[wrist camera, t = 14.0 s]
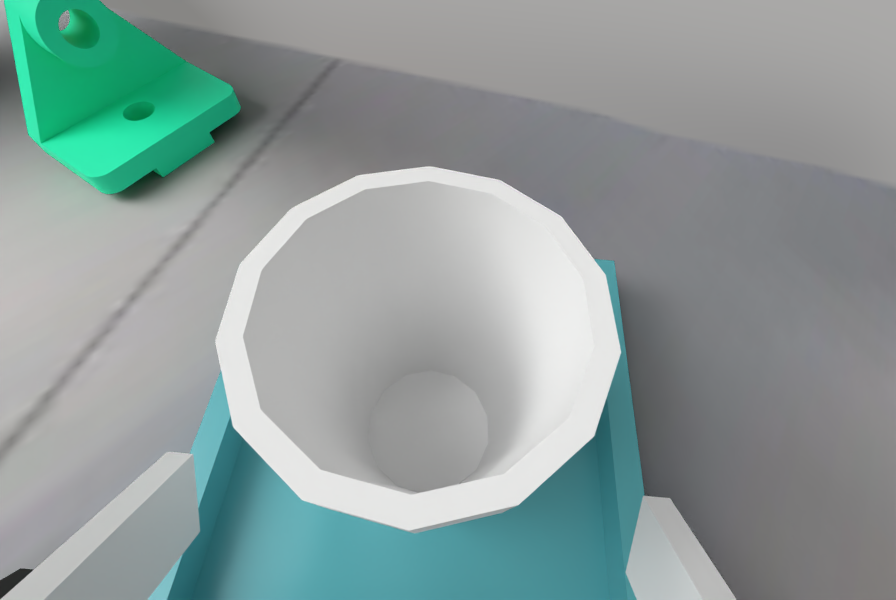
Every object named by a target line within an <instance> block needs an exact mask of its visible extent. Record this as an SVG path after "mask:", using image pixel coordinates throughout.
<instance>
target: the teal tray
mask: <svg viewBox="0 0 896 600" xmlns="http://www.w3.org/2000/svg"><path fill="white" fill-rule="evenodd" d="M594 260H595V261H596V263H597V264H598V265H599V267H600V268H601V269H602V271H603V272H604V273H605V275H606V279H607V284H608V289H609V294H610V299H611V304H612V309H613V314H614V319H615V324H616V329H617V334H618V339H619V344H620V349H621V354H620V357H619V360H618V364H617V367H616V370H615V373H614V376H613V379H612V382H611V385H610V388H609V392H608V395H607V398H606V401H605V404H604V407H603V410H602V413H601V416H600V420H599V423H598V426H597V429H596V432H595V435H594V437H593V438H592V439H591V440H590V441H588V442H587V443H586V444H585V445H584V446H583V447H582V448H581V449H580V450H579V451H577V452H576V453H575V454H574V455H573V456H572V457H571V458H570V459H569V460H568V461H566V462H565V463H564V464H563V465H562V466H561V467H560V468H559V469H558V470H557V471H555V472H554V473H553V474H552V475H551V476H550V477H549V478H548V479H547V480H546V481H544V482H543V483H542V484H541V485H540V486H539V487H538V488H537V489H536V490H535V491H533V492H532V493H531V494H530V495H529V496H528V497H527V498H526V499H525V500H524V501H522V502H521V503H520V504H519V505H518V506H515V507H513V508H511V509H509V510H507V511H505V512H503V513H499V514H495V515H491V516H487V517H483V518H478V519H474V520H470V521H466V522H461V523H457V524H453V525H449V526H444V527H440V528H436V529H432V530H427V531H423V532H419V533H415V534H414V533H411V532H407V531H404V530H400V529H397V528H393V527H390V526H386V525H383V524H379V523H376V522H372V521H369V520H365V519H362V518H358V517H355V516H351V515H348V514H344V513H341V512H337V511H334V510H330V509H327V508H324V507H321V506H318V505H315V504H312V503H309V502H306V501H303V500H301V499H300V498H299V497H298V495H297V494H296V493H295V492H294V491H293V490H292V489H291V488H290V487H289V486H288V485H287V484H286V483H285V482H284V481H283V480H282V479H281V478H280V476H279V475H278V474H277V473H276V472H275V471H274V470H273V469H272V468H271V467H270V466H269V465H268V464H267V463H266V462H265V461H264V460H263V459H262V457H261V456H260V455H259V454H258V453H257V452H256V451H255V450H254V449H253V448H252V447H251V446H250V445H249V444H248V443H247V442H246V441H245V439H244V438H243V437H242V436H241V435H240V434H239V433H238V432H237V431H236V430H235V429H234V428H233V425H232V420H231V415H230V410H229V405H228V401H227V396H226V391H225V386H224V381H223V377H222V372H220V374H219V377H218V379H217V382H216V385H215V387H214V390H213V393H212V395H211V398H210V401H209V403H208V406H207V409H206V411H205V414H204V417H203V419H202V422H201V425H200V427H199V430H198V433H197V435H196V438H195V441H194V443H193V446H192V449H191V451H190V454H193V457H194V468H195V479H196V490H197V501H198V512H199V523H200V532H199V534H198V535H197V536H196V537H195V539H194V540H193V541H192V543H191V544H190V545H189V546H188V548H187V549H186V550H185V552H184V553H183V554H182V556H181V557H180V558H179V559H178V561H177V562H176V563H175V565H174V566H173V567H172V568H171V570H170V571H169V572H168V574H167V575H166V576H165V577H164V579H163V580H162V581H161V583H160V584H159V585H158V587H157V588H156V589H155V590H154V592H153V593H152V594H151V596H150V597H149V598H148V599H147V600H637V599H636V597H635V594H634V592H633V589H632V587H631V584H630V582H629V580H628V577H627V575H626V568H627V564H628V559H629V555H630V551H631V546H632V542H633V537H634V533H635V529H636V524H637V520H638V516H639V511H640V507H641V503H642V498H643V496H645V495H644V487H643V479H642V471H641V464H640V456H639V448H638V441H637V433H636V425H635V417H634V410H633V402H632V394H631V387H630V379H629V371H628V364H627V356H626V348H625V340H624V333H623V325H622V317H621V310H620V302H619V294H618V286H617V279H616V271H615V263H614V261H610V260H599V259H594Z"/></svg>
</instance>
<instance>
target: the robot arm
mask: <svg viewBox="0 0 896 600" xmlns="http://www.w3.org/2000/svg"><path fill="white" fill-rule="evenodd" d="M199 532H200V523H199V512H198V501H197V490H196V479H195V468H194V457H193V454H188V453H178V452H167V453H165V454H164V455H163V456H162V457H161V458H160V459H159V460H158V461H156V462H155V463H154V464H153V465H152V466H151V467H150V468H148V469H147V470H146V471H145V472H144V473H143V474H142V475H141V476H139V477H138V478H137V479H136V480H135V481H134V482H133V483H131V484H130V485H129V486H128V487H127V488H126V489H125V490H124V491H122V492H121V493H120V494H119V495H118V496H117V497H116V498H114V499H113V500H112V501H111V502H110V503H109V504H108V505H107V506H105V507H104V508H103V509H102V510H101V511H100V512H99V513H98V514H96V515H95V516H94V517H93V518H92V519H91V520H90V521H88V522H87V523H86V524H85V525H84V526H83V527H82V528H81V529H79V530H78V531H77V532H76V533H75V534H74V535H73V536H71V537H70V538H69V539H68V540H67V541H66V542H65V543H64V544H62V545H61V546H60V547H59V548H58V549H57V550H56V551H55V552H53V553H52V554H51V555H50V556H49V557H48V558H47V559H45V560H44V561H43V562H42V563H41V564H40V565H39V566H38V567H36V568H35V569H34V570H32V569H19V570H17V571H15V572H14V573H12V574H10V575H9V576H7V577H5V578H4V579H2V580H0V600H147V599H148V598H149V597H150V596H151V594H152V593H153V592H154V590H155V589H156V588H157V587H158V585H159V584H160V583H161V581H162V580H163V579H164V577H165V576H166V575H167V574H168V572H169V571H170V570H171V568H172V567H173V566H174V565H175V563H176V562H177V561H178V559H179V558H180V557H181V556H182V554H183V553H184V552H185V550H186V549H187V548H188V546H189V545H190V544H191V543H192V541H193V540H194V539H195V537H196V536H197V535H198V534H199ZM626 575H627V577H628V580H629V582H630V584H631V587H632V589H633V592H634V594H635V597H636V599H637V600H737V599H736V598H735V596H734V595H733V593H732V592H731V590H730V589H729V587H728V586H727V584H726V583H725V581H724V580H723V578H722V577H721V575H720V574H719V572H718V571H717V569H716V568H715V566H714V564H713V563H712V561H711V560H710V558H709V557H708V555H707V554H706V552H705V551H704V549H703V548H702V546H701V545H700V543H699V542H698V540H697V539H696V537H695V536H694V534H693V532H692V531H691V529H690V528H689V526H688V525H687V523H686V522H685V520H684V519H683V517H682V516H681V514H680V513H679V511H678V510H677V508H676V507H675V505H674V504H673V502H672V501H671V499H670V498H663V497H652V496H643V498H642V503H641V507H640V511H639V516H638V520H637V524H636V529H635V533H634V537H633V542H632V546H631V551H630V555H629V559H628V564H627V568H626Z"/></svg>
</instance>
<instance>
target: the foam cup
mask: <svg viewBox="0 0 896 600" xmlns="http://www.w3.org/2000/svg"><path fill="white" fill-rule="evenodd" d="M215 343H216V348H217V353H218V357H219V362H220V367H221V372H222V377H223V381H224V386H225V391H226V396H227V401H228V405H229V410H230V415H231V420H232V425H233V428H234V429H235V430H236V431H237V432H238V433H239V434H240V435H241V436H242V437H243V438H244V439H245V441H246V442H247V443H248V444H249V445H250V446H251V447H252V448H253V449H254V450H255V451H256V452H257V453H258V454H259V455H260V456H261V457H262V459H263V460H264V461H265V462H266V463H267V464H268V465H269V466H270V467H271V468H272V469H273V470H274V471H275V472H276V473H277V474H278V475H279V476H280V478H281V479H282V480H283V481H284V482H285V483H286V484H287V485H288V486H289V487H290V488H291V489H292V490H293V491H294V492H295V493H296V494H297V495H298V497H299V498H300V499H301V500H303V501H306V502H309V503H312V504H315V505H318V506H321V507H324V508H327V509H330V510H334V511H337V512H341V513H344V514H348V515H351V516H355V517H358V518H362V519H365V520H369V521H372V522H376V523H379V524H383V525H386V526H390V527H393V528H397V529H400V530H404V531H407V532H411V533H414V534H415V533H419V532H423V531H427V530H432V529H436V528H440V527H444V526H449V525H453V524H457V523H461V522H466V521H470V520H474V519H478V518H483V517H487V516H491V515H495V514H499V513H503V512H505V511H507V510H509V509H511V508H513V507H515V506H518V505H519V504H520V503H521V502H522V501H524V500H525V499H526V498H527V497H528V496H529V495H530V494H531V493H532V492H533V491H535V490H536V489H537V488H538V487H539V486H540V485H541V484H542V483H543V482H544V481H546V480H547V479H548V478H549V477H550V476H551V475H552V474H553V473H554V472H555V471H557V470H558V469H559V468H560V467H561V466H562V465H563V464H564V463H565V462H566V461H568V460H569V459H570V458H571V457H572V456H573V455H574V454H575V453H576V452H577V451H579V450H580V449H581V448H582V447H583V446H584V445H585V444H586V443H587V442H588V441H590V440H591V439H592V438H593V437H594V435H595V432H596V429H597V426H598V423H599V420H600V416H601V413H602V410H603V407H604V404H605V401H606V398H607V395H608V392H609V388H610V385H611V382H612V379H613V376H614V373H615V370H616V367H617V364H618V360H619V357H620V354H621V349H620V344H619V339H618V334H617V329H616V324H615V319H614V314H613V309H612V304H611V299H610V294H609V289H608V284H607V279H606V275H605V273H604V272H603V271H602V269H601V268H600V267H599V265H598V264H597V263H596V261H595V260H594V259H593V258H592V256H591V255H590V254H589V252H588V251H587V250H586V248H585V247H584V246H583V244H582V243H581V242H580V240H579V239H578V238H577V236H576V235H575V234H574V232H573V231H572V230H571V229H570V227H569V226H568V225H567V223H566V222H565V221H564V219H563V218H562V217H561V216H560V215H558V214H556V213H555V212H553V211H551V210H550V209H548V208H546V207H545V206H543V205H541V204H540V203H538V202H536V201H534V200H533V199H531V198H529V197H528V196H526V195H524V194H523V193H521V192H519V191H518V190H516V189H514V188H513V187H511V186H509V185H507V184H506V183H504V182H502V181H501V180H498V179H493V178H488V177H482V176H477V175H472V174H467V173H462V172H457V171H452V170H447V169H442V168H437V167H432V166H427V167H419V168H411V169H403V170H395V171H387V172H380V173H372V174H364V175H357V176H355V177H353V178H351V179H349V180H347V181H345V182H343V183H341V184H339V185H337V186H335V187H333V188H331V189H329V190H327V191H325V192H323V193H321V194H319V195H317V196H315V197H313V198H311V199H309V200H307V201H305V202H303V203H301V204H299V205H296V206H294V207H292V208H291V209H290V210H289V211H288V212H287V213H286V214H285V216H284V217H283V218H282V219H281V220H280V221H279V222H278V223H277V224H276V225H275V226H274V227H273V229H272V230H271V231H270V232H269V233H268V234H267V235H266V236H265V237H264V238H263V239H262V240H261V242H260V243H259V244H258V245H257V246H256V247H255V248H254V249H253V250H252V251H251V252H250V253H249V255H248V256H247V257H246V258H245V259H244V260H243V261H242V262H241V263H240V265H239V268H238V271H237V274H236V277H235V280H234V283H233V286H232V290H231V293H230V296H229V299H228V302H227V305H226V308H225V312H224V315H223V318H222V321H221V324H220V327H219V330H218V334H217V337H216V340H215Z"/></svg>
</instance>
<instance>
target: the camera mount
mask: <svg viewBox="0 0 896 600" xmlns="http://www.w3.org/2000/svg"><path fill="white" fill-rule="evenodd" d="M4 4H5V9H6V15H7V20H8V26H9V31H10V37H11V42H12V48H13V54H14V59H15V65H16V70H17V76H18V81H19V87H20V92H21V98H22V103H23V109H24V114H25V120H26V125H27V131H28V135H29V136H30V137H31V138H32V139H33V140H34V141H35V142H36V143H37V144H38V145H39V146H40V147H41V148H42V149H43V150H44V151H45V152H46V153H47V154H49V155H50V156H52V157H53V158H54V159H56V160H57V161H59V162H60V163H61V164H63V165H64V166H66V167H67V168H68V169H70V170H71V171H73V172H74V173H75V174H77V175H78V176H79V177H81V178H82V179H84V180H85V181H86V182H88V183H89V184H91V185H92V186H93V187H95V188H96V189H98V190H99V191H100V192H102V193H105V194H114V193H118V192H120V191H122V190H124V189H126V188H127V187H129V186H130V185H132V184H133V183H135V182H136V181H138V180H139V179H141V178H142V177H144V176H145V175H147V174H148V173H150V172H151V171H154V172H156V173H157V174H159V175H160V176H162V177H165V176H166V175H168V174H169V173H171V172H172V171H174V170H175V169H176V168H178V167H179V166H181V165H182V164H184V163H185V162H187V161H188V160H190V159H191V158H192V157H194V156H195V155H197V154H198V153H200V152H201V151H203V150H204V149H206V148H207V147H208V146H210V145H211V144H213V143H214V140H213V138H212V136H211V134H210V132H211V131H212V130H214V129H215V128H217V127H218V126H220V125H221V124H223V123H224V122H226V121H227V120H229V119H230V118H232V117H233V116H235V115H236V114H237V113H239V111H240V109H241V106H240V103H239V101H238V99H237V97H236V94H235V92H234V90H233V88H232V86H231V85H229V84H228V83H226V82H224V81H222V80H220V79H218V78H216V77H215V76H213V75H211V74H209V73H207V72H205V71H203V70H201V69H200V68H198V67H196V66H194V65H192V64H190V63H188V62H187V61H185V60H184V59H182V58H181V57H179V56H178V55H176V54H175V53H173V52H172V51H170V50H169V49H167V48H166V47H164V46H163V45H161V44H160V43H158V42H157V41H155V40H154V39H152V38H151V37H150V36H148V35H147V34H145V33H144V32H142V31H141V30H139V29H138V28H136V27H135V26H133V25H132V24H130V23H129V22H127V21H126V20H124V19H123V18H121V17H120V16H118V15H117V14H116V13H114V12H113V11H111V10H110V9H108V8H107V7H106V6H105V5H104V4H103V3H102V2H101V1H99V0H4ZM66 10H68V11H69V14H70V22H69V25H68V26H67V27H66V28H65V29H64V30H62V31H60V30H59V26H58V22H59V18H60V16H61V14H62V13H63V12H65V11H66Z"/></svg>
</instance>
